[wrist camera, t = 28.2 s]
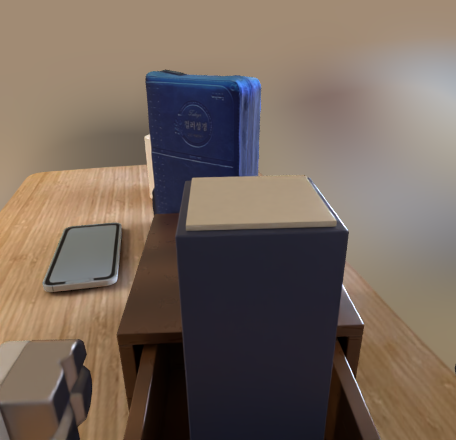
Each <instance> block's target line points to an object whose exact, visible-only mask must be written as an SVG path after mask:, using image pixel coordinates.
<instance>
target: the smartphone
mask: <svg viewBox="0 0 456 440" xmlns="http://www.w3.org/2000/svg"><path fill="white" fill-rule="evenodd" d="M121 234H122V226H121V224H120V223H104V224H93V225H81V226H71V227H68V228H66V229H64V231H63V233H62V236H61V238H60V241H59V243H58V246H57V248H56V251H55V253H54V256H53V258H52V261H51V263H50V266H49V268H48V270H47V273H46V275H45V278H44V280H43V288H44V290H45V291H47V292H57V291H66V290H74V289H83V288H92V287H100V286H108V285H112V284H114V283H115V282H116V281H117V280H118V269H119V259H120V246H121Z"/></svg>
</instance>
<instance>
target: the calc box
mask: <svg viewBox="0 0 456 440" xmlns="http://www.w3.org/2000/svg"><path fill="white" fill-rule="evenodd" d="M348 234H349V232H348V230H347V228H346V227H345V225H344V224H343V223H342V221H341V220H340V219H339V217H338V216H337V214H336V213H335V212H334V210H333V209H332V208H331V206H330V205H329V203H328V202H327V201H326V199H325V198H324V197H323V195H322V194H321V193H320V191H319V190H318V188H317V187H316V186H315V184H314V183H313V181H312V180H311V179H310V178H306V176H305V175H284V176H243V177H204V178H192V181H185V185H184V191H183V196H182V202H181V207H180V213H179V219H178V224H177V230H176V235H175V242H176V255H177V269H178V282H179V295H180V309H181V322H182V335H183V349H184V362H185V376H186V389H187V402H188V416H189V429H190V440H324V433H325V424H326V416H327V408H328V400H329V391H330V383H331V375H332V367H333V358H334V350H335V342H336V334H337V325H338V317H339V309H340V301H341V292H342V284H343V276H344V267H345V258H346V251H347V243H348Z"/></svg>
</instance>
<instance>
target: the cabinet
mask: <svg viewBox="0 0 456 440" xmlns="http://www.w3.org/2000/svg"><path fill="white" fill-rule="evenodd" d="M178 219H179V213H173V214H155V215H154V218H153V221H152V224H151V227H150V231H149V234H148V237H147V240H146V243H145V246H144V250H143V253H142V256H141V259H140V262H139V265H138V269H137V272H136V275H135V278H134V281H133V284H132V288H131V291H130V294H129V297H128V300H127V303H126V307H125V310H124V313H123V316H122V319H121V322H120V326H119V329H118V332H117V339H118V345H119V351H120V358H121V364H122V370H123V377H124V383H125V389H126V396H127V402H128V408H129V412H130V407H131V402H132V398H133V393H134V389H135V384H136V379H137V375H138V370H139V365H140V361H141V356H142V351H143V347H144V344H165V343H183V335H182V322H181V309H180V295H179V282H178V269H177V255H176V242H175V235H176V230H177V224H178ZM363 329H364V324H363V322H362V320H361V318H360V316H359V314H358V313H357V311H356V309H355V307H354V305H353V303H352V302H351V300H350V298H349V296H348V294H347V292H346V291H345V289H344V287H343V285H342V292H341V301H340V309H339V317H338V325H337V334H336V337H337V338H338V341H339V343H340V345H341V348H342V350H343V352H344V355H345V357H346V359H347V362H348V364H349V366H350V369H351V371H352V373H353V376H354V378H355V380H356V373H357V367H358V360H359V354H360V347H361V341H362V335H363Z"/></svg>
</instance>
